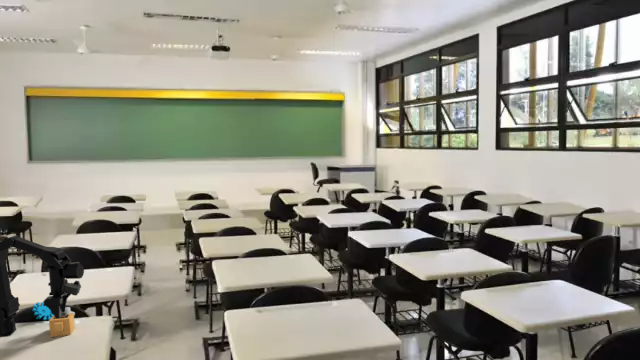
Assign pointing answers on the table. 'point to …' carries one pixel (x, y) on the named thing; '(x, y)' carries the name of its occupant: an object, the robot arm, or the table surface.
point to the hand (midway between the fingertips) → (60, 314)
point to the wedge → (62, 316)
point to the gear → (42, 311)
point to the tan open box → (62, 324)
